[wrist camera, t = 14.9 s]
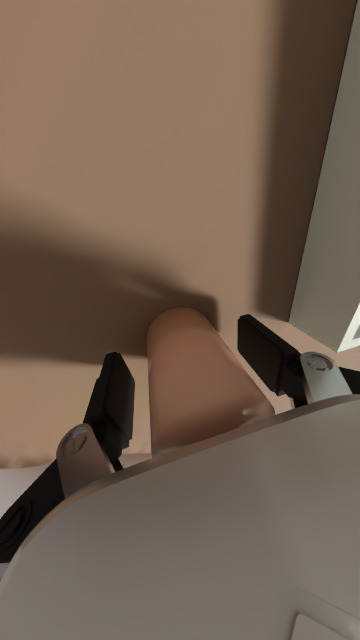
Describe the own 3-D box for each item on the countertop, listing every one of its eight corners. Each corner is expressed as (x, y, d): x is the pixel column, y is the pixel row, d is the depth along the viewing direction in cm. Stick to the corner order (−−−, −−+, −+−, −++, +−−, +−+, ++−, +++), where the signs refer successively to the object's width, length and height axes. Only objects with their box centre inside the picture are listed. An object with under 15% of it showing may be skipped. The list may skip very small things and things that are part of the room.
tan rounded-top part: (207, 299, 11) (284, 379, 5) (212, 351, 14) (267, 444, 8) (137, 317, 11) (130, 429, 5) (156, 367, 13) (168, 480, 7)
